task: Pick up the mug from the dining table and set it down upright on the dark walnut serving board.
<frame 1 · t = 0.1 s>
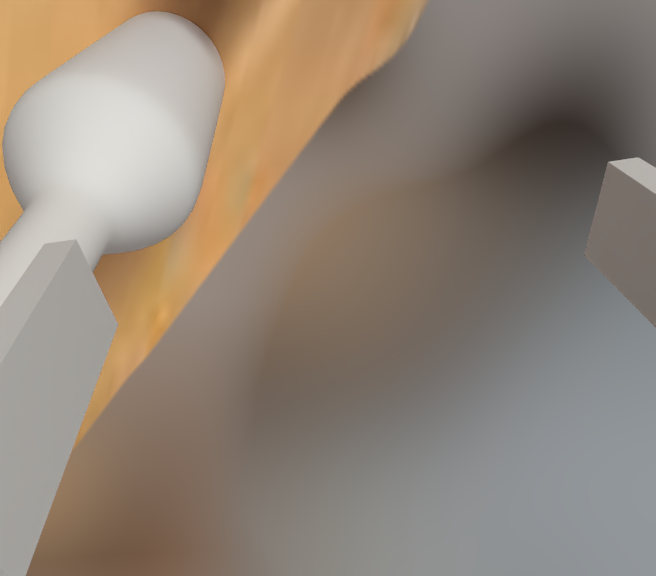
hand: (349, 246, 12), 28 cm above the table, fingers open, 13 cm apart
bottle: (169, 73, 35), on the table
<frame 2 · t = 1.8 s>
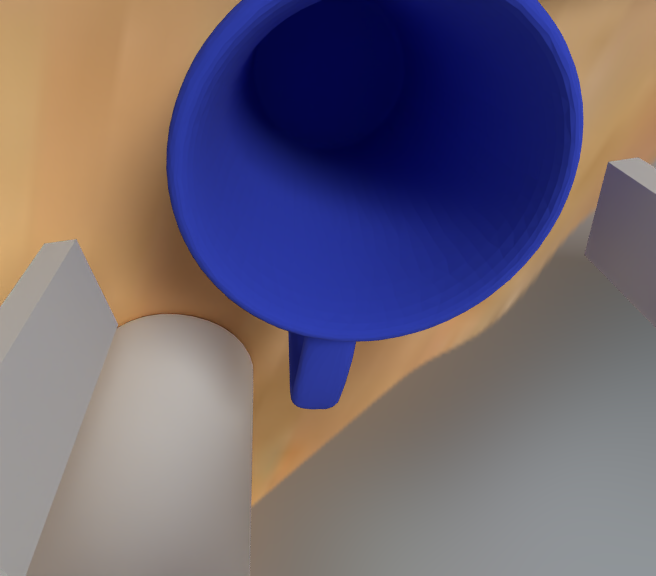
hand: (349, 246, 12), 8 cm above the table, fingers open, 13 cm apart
bottle: (177, 366, 26), on the table
mug: (317, 120, 19), on the table
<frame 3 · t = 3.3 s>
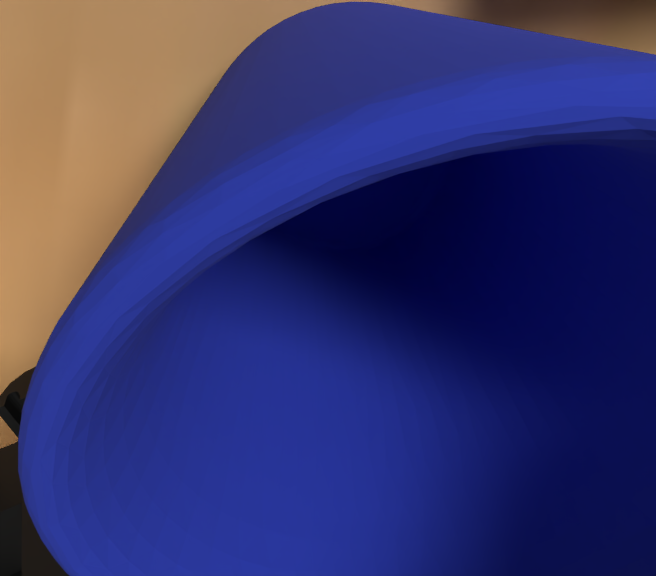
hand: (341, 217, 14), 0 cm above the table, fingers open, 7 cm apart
mug: (328, 209, 14), on the table, touching gripper
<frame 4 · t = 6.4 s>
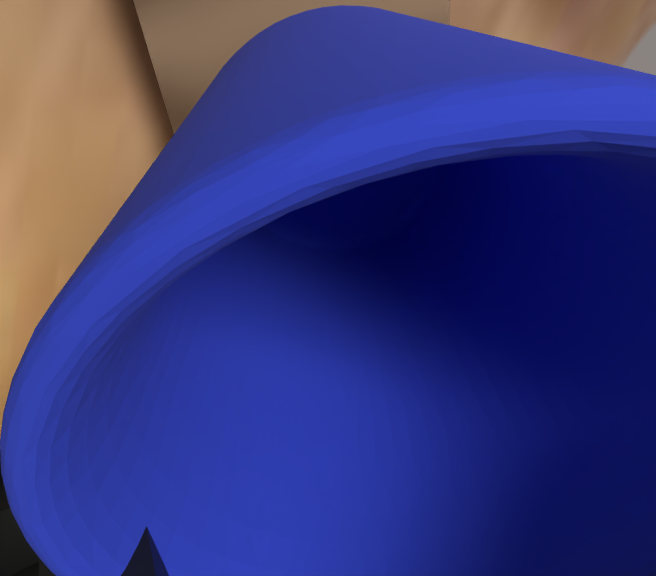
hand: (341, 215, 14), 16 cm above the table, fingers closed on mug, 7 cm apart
board: (303, 75, 27), on the table
mug: (321, 210, 14), point 16 cm above the table, touching gripper
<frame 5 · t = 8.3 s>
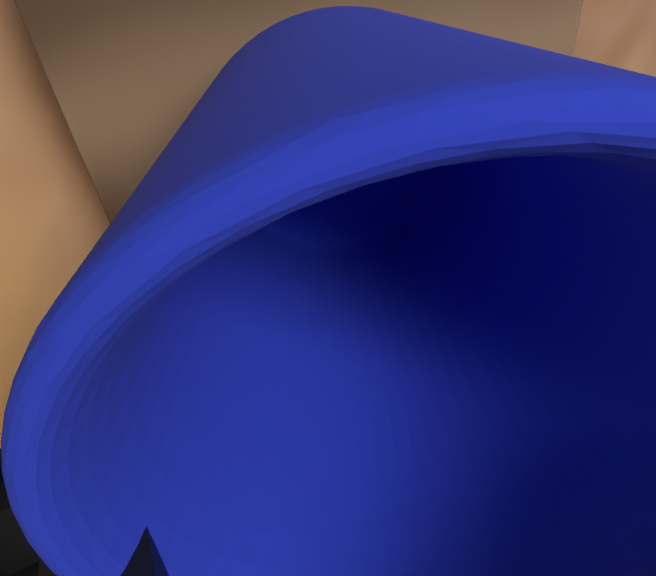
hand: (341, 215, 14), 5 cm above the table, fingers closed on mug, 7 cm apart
board: (323, 149, 18), on the table
mug: (321, 210, 14), point 5 cm above the table, touching gripper
when the fingers open (5 cm above the table, at t = 9.1 s): mug drops 1 cm, resting on board.
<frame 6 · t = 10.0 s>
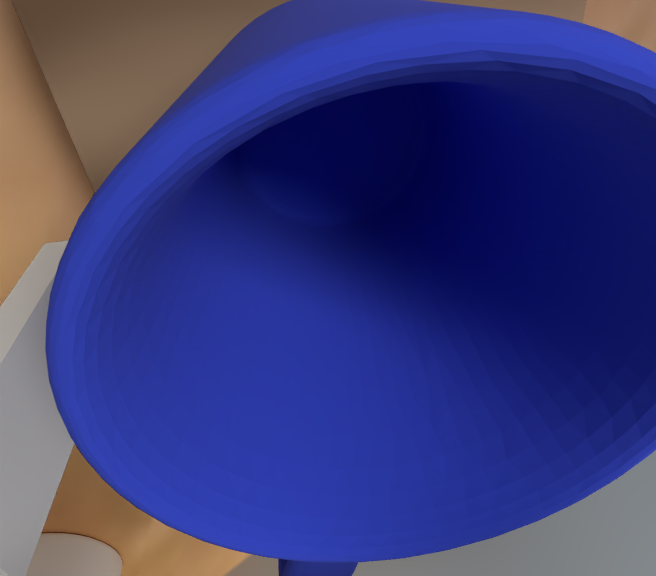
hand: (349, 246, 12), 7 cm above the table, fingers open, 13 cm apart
bottle: (61, 558, 33), on the table
board: (323, 150, 18), on the table
mug: (316, 188, 15), point 3 cm above the table, touching board
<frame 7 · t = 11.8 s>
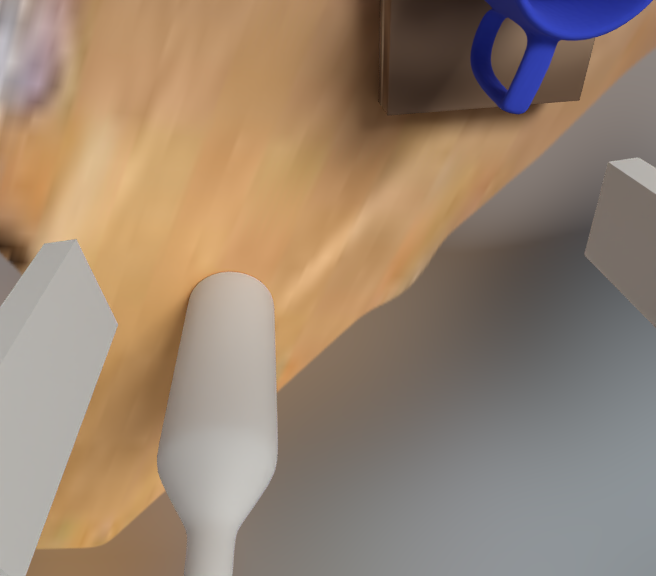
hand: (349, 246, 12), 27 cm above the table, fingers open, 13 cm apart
bottle: (232, 303, 47), on the table
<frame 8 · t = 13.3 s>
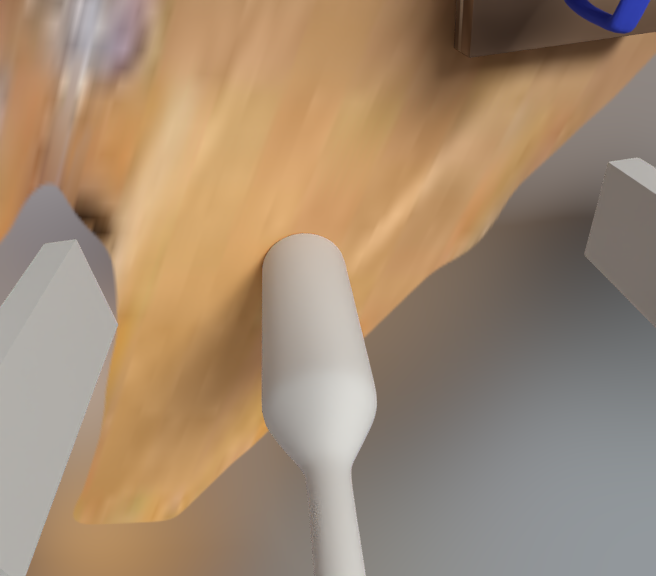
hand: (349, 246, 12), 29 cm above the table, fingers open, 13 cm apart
bottle: (303, 266, 47), on the table
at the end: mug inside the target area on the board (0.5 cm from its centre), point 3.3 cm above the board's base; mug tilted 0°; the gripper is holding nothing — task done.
